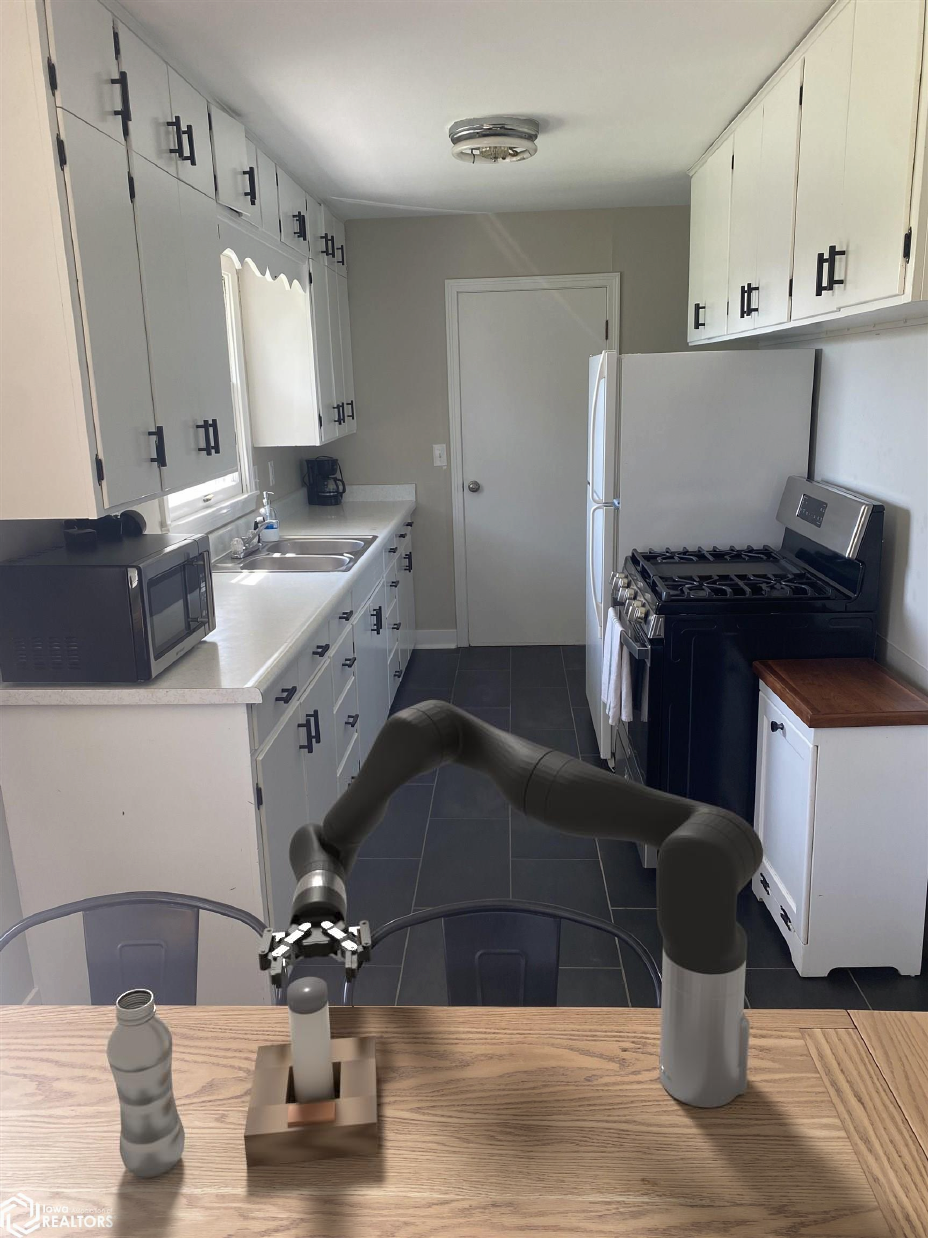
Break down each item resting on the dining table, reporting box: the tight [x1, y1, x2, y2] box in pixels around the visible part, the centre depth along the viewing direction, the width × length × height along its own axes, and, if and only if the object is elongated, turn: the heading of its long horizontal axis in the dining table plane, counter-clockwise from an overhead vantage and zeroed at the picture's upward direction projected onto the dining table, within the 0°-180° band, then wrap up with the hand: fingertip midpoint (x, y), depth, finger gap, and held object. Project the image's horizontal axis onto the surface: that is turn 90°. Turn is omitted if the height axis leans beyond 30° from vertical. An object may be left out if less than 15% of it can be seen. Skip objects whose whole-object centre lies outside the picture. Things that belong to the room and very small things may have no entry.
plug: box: [286, 976, 336, 1103], centre depth 105 cm, size 4×4×16 cm
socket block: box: [243, 1035, 379, 1168], centre depth 106 cm, size 14×14×4 cm
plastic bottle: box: [105, 988, 186, 1178], centre depth 98 cm, size 6×7×20 cm
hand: (313, 979), depth 114 cm, fingers open, 8 cm apart
